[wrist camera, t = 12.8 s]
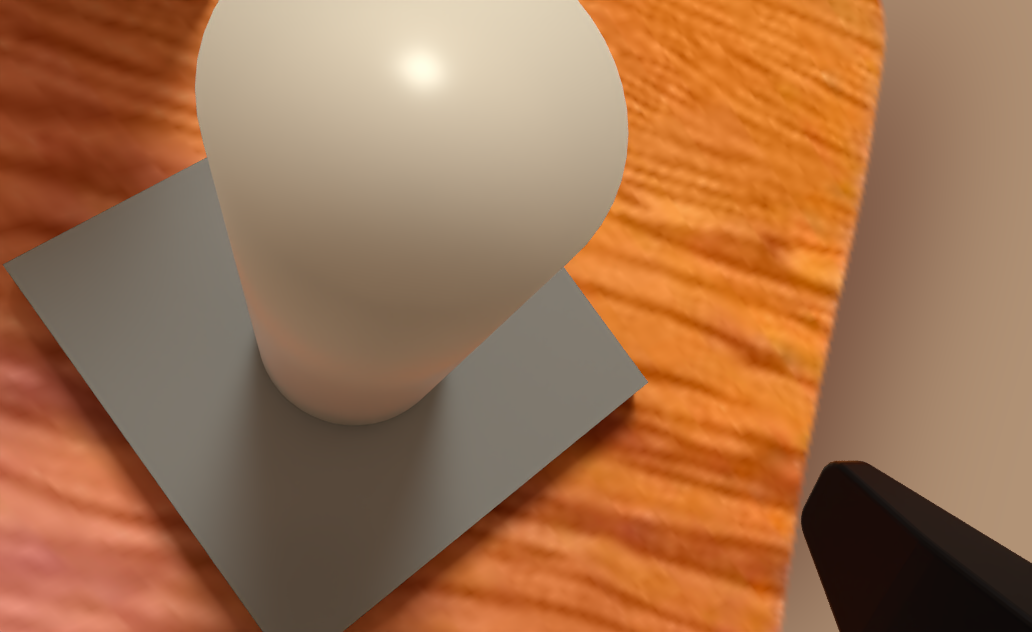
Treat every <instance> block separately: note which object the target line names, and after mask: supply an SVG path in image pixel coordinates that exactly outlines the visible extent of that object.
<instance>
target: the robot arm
mask: <svg viewBox="0 0 1032 632" xmlns="http://www.w3.org/2000/svg"><path fill="white" fill-rule="evenodd" d="M801 525H802V531H803V534H804V537H805V539H806V542H807V545H808V548H809V550H810V553H811V556H812V558H813V561H814V564H815V566H816V569H817V572H818V574H819V577H820V580H821V583H822V585H823V588H824V591H825V594H826V596H827V599H828V602H829V604H830V607H831V610H832V612H833V615H834V618H835V621H836V623H837V626H838V629H839V631H840V632H1032V563H1030V562H1029V561H1027V560H1025V559H1024V558H1022V557H1021V556H1019V555H1017V554H1016V553H1014V552H1012V551H1011V550H1009V549H1007V548H1006V547H1004V546H1003V545H1001V544H999V543H998V542H996V541H994V540H993V539H991V538H989V537H988V536H986V535H984V534H983V533H981V532H979V531H978V530H976V529H975V528H973V527H971V526H970V525H968V524H966V523H965V522H963V521H962V520H960V519H958V518H957V517H955V516H953V515H952V514H950V513H948V512H947V511H945V510H943V509H942V508H940V507H939V506H937V505H935V504H934V503H932V502H930V501H929V500H927V499H925V498H924V497H922V496H921V495H919V494H917V493H916V492H914V491H912V490H911V489H909V488H908V487H906V486H904V485H903V484H901V483H899V482H898V481H896V480H894V479H893V478H891V477H890V476H888V475H886V474H885V473H883V472H881V471H880V470H878V469H876V468H875V467H873V466H871V465H870V464H868V463H865V462H863V461H834V462H830V463H829V464H828V465H826V466H825V467H824V469H823V470H822V472H821V474H820V476H819V478H818V480H817V482H816V484H815V486H814V488H813V490H812V492H811V494H810V496H809V498H808V500H807V502H806V504H805V506H804V508H803V511H802V515H801Z"/></svg>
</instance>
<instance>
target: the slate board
mask: <svg viewBox="0 0 1032 632" xmlns="http://www.w3.org/2000/svg"><path fill="white" fill-rule="evenodd" d="M3 266H4V267H5V269H6V270H7V272H8V273H9V274H10V276H11V277H12V279H13V280H14V281H15V283H16V284H17V286H18V287H19V289H20V290H21V291H22V293H23V294H24V296H25V297H26V298H27V300H28V301H29V303H30V304H31V305H32V307H33V308H34V310H35V311H36V312H37V314H38V315H39V317H40V318H41V320H42V321H43V322H44V324H45V325H46V327H47V328H48V329H49V331H50V332H51V334H52V335H53V336H54V338H55V339H56V341H57V342H58V344H59V345H60V346H61V348H62V349H63V351H64V352H65V353H66V355H67V356H68V358H69V359H70V360H71V362H72V363H73V365H74V366H75V368H76V369H77V370H78V372H79V373H80V375H81V376H82V377H83V379H84V380H85V382H86V383H87V384H88V386H89V387H90V389H91V390H92V392H93V393H94V394H95V396H96V397H97V399H98V400H99V401H100V403H101V404H102V406H103V407H104V408H105V410H106V411H107V413H108V414H109V415H110V417H111V418H112V420H113V421H114V423H115V424H116V425H117V427H118V428H119V430H120V431H121V432H122V434H123V435H124V437H125V438H126V439H127V441H128V442H129V444H130V445H131V447H132V448H133V449H134V451H135V452H136V454H137V455H138V456H139V458H140V459H141V461H142V462H143V463H144V465H145V466H146V468H147V469H148V471H149V472H150V473H151V475H152V476H153V478H154V479H155V480H156V482H157V483H158V485H159V486H160V487H161V489H162V490H163V492H164V493H165V494H166V496H167V497H168V499H169V500H170V502H171V503H172V504H173V506H174V507H175V509H176V510H177V511H178V513H179V514H180V516H181V517H182V518H183V520H184V521H185V523H186V524H187V526H188V527H189V528H190V530H191V531H192V533H193V534H194V535H195V537H196V538H197V540H198V541H199V542H200V544H201V545H202V547H203V548H204V550H205V551H206V552H207V554H208V555H209V557H210V558H211V559H212V561H213V562H214V564H215V565H216V566H217V568H218V569H219V571H220V572H221V574H222V575H223V576H224V578H225V579H226V581H227V582H228V583H229V585H230V586H231V588H232V589H233V590H234V592H235V593H236V595H237V596H238V597H239V599H240V600H241V602H242V603H243V605H244V606H245V607H246V609H247V610H248V612H249V613H250V614H251V616H252V617H253V619H254V620H255V621H256V623H257V624H258V626H259V627H260V629H261V630H262V631H263V632H343V631H344V630H345V629H347V628H348V627H349V626H350V625H352V624H353V623H354V622H355V621H356V620H358V619H359V618H360V617H361V616H363V615H364V614H365V613H366V612H367V611H369V610H370V609H371V608H372V607H374V606H375V605H376V604H377V603H379V602H380V601H381V600H382V599H383V598H385V597H386V596H387V595H388V594H390V593H391V592H392V591H393V590H394V589H396V588H397V587H398V586H399V585H401V584H402V583H403V582H404V581H405V580H407V579H408V578H409V577H410V576H412V575H413V574H414V573H415V572H416V571H418V570H419V569H420V568H421V567H423V566H424V565H425V564H426V563H428V562H429V561H430V560H431V559H432V558H434V557H435V556H436V555H437V554H439V553H440V552H441V551H442V550H443V549H445V548H446V547H447V546H448V545H450V544H451V543H452V542H453V541H454V540H456V539H457V538H458V537H459V536H461V535H462V534H463V533H464V532H465V531H467V530H468V529H469V528H470V527H472V526H473V525H474V524H475V523H476V522H478V521H479V520H480V519H481V518H483V517H484V516H485V515H486V514H488V513H489V512H490V511H491V510H492V509H494V508H495V507H496V506H497V505H499V504H500V503H501V502H502V501H503V500H505V499H506V498H507V497H508V496H510V495H511V494H512V493H513V492H514V491H516V490H517V489H518V488H519V487H521V486H522V485H523V484H524V483H525V482H527V481H528V480H529V479H530V478H532V477H533V476H534V475H535V474H536V473H538V472H539V471H540V470H541V469H543V468H544V467H545V466H546V465H548V464H549V463H550V462H551V461H552V460H554V459H555V458H556V457H557V456H559V455H560V454H561V453H562V452H563V451H565V450H566V449H567V448H568V447H570V446H571V445H572V444H573V443H574V442H576V441H577V440H578V439H579V438H581V437H582V436H583V435H584V434H585V433H587V432H588V431H589V430H590V429H592V428H593V427H594V426H595V425H596V424H598V423H599V422H600V421H601V420H603V419H604V418H605V417H606V416H608V415H609V414H610V413H611V412H612V411H614V410H615V409H616V408H617V407H619V406H620V405H621V404H622V403H623V402H625V401H626V400H627V399H628V398H630V397H631V396H632V395H633V394H634V393H636V392H637V391H638V390H639V389H641V388H642V387H643V386H644V385H645V384H647V383H648V381H647V380H646V379H645V377H644V376H643V375H642V373H641V372H640V371H639V369H638V368H637V366H636V365H635V364H634V362H633V361H632V360H631V358H630V357H629V356H628V354H627V353H626V351H625V350H624V349H623V347H622V346H621V345H620V343H619V342H618V341H617V339H616V338H615V336H614V335H613V334H612V332H611V331H610V330H609V328H608V327H607V326H606V324H605V323H604V321H603V320H602V319H601V317H600V316H599V315H598V313H597V312H596V311H595V309H594V308H593V306H592V305H591V304H590V302H589V301H588V300H587V298H586V297H585V296H584V294H583V293H582V291H581V290H580V289H579V287H578V286H577V285H576V283H575V282H574V281H573V279H572V278H571V276H570V275H569V274H568V272H567V271H566V270H565V268H564V267H563V268H562V269H561V270H559V271H558V272H557V273H556V274H555V275H554V276H553V277H552V278H551V279H550V280H549V281H548V282H547V283H546V284H544V285H543V286H542V287H541V288H540V289H539V290H538V291H537V292H536V293H535V294H534V295H533V296H532V297H531V298H529V299H528V300H527V301H526V302H525V303H524V304H523V305H522V306H521V307H520V308H519V309H518V310H517V311H515V312H514V313H513V314H512V315H511V316H510V317H509V318H508V319H507V320H506V321H505V322H504V323H503V324H502V325H500V326H499V327H498V328H497V329H496V330H495V331H494V332H493V333H492V334H491V335H490V336H489V337H488V338H486V339H485V340H484V341H483V342H482V343H481V344H480V345H479V346H478V347H477V348H476V349H475V350H474V351H473V352H471V353H470V354H469V355H468V356H467V357H466V358H465V359H464V360H463V361H462V362H461V363H460V364H459V365H457V366H456V367H455V368H454V369H453V370H452V371H451V372H450V373H449V374H448V375H447V376H446V377H445V378H444V379H442V380H441V381H440V382H439V383H438V384H437V385H436V386H435V387H434V388H433V389H432V390H431V391H430V392H429V393H427V394H426V395H425V396H424V397H423V398H422V399H421V400H420V401H419V402H418V403H416V404H415V405H414V406H412V407H411V408H410V409H408V410H407V411H405V412H403V413H401V414H400V415H398V416H396V417H393V418H391V419H388V420H386V421H382V422H378V423H374V424H367V425H341V424H334V423H331V422H327V421H323V420H320V419H318V418H316V417H313V416H311V415H309V414H307V413H305V412H304V411H302V410H300V409H299V408H297V407H296V406H295V405H293V404H292V403H291V402H290V401H288V400H287V399H286V398H285V397H284V396H283V395H282V394H281V393H280V392H279V390H278V389H277V388H276V386H275V385H274V383H273V382H272V381H271V379H270V377H269V375H268V373H267V372H266V370H265V367H264V364H263V362H262V359H261V356H260V352H259V348H258V344H257V341H256V337H255V333H254V330H253V326H252V322H251V318H250V315H249V311H248V307H247V304H246V300H245V296H244V292H243V289H242V285H241V281H240V277H239V274H238V270H237V266H236V263H235V259H234V255H233V251H232V248H231V244H230V240H229V237H228V233H227V229H226V225H225V222H224V218H223V214H222V210H221V207H220V203H219V199H218V196H217V192H216V188H215V184H214V181H213V177H212V173H211V170H210V166H209V162H208V158H205V159H203V160H201V161H199V162H197V163H195V164H194V165H192V166H190V167H188V168H186V169H184V170H182V171H180V172H178V173H176V174H174V175H173V176H171V177H169V178H167V179H165V180H163V181H161V182H159V183H157V184H155V185H153V186H152V187H150V188H148V189H146V190H144V191H142V192H140V193H138V194H136V195H134V196H133V197H131V198H129V199H127V200H125V201H123V202H121V203H119V204H117V205H115V206H113V207H112V208H110V209H108V210H106V211H104V212H102V213H100V214H98V215H96V216H94V217H92V218H91V219H89V220H87V221H85V222H83V223H81V224H79V225H77V226H75V227H73V228H72V229H70V230H68V231H66V232H64V233H62V234H60V235H58V236H56V237H54V238H52V239H51V240H49V241H47V242H45V243H43V244H41V245H39V246H37V247H35V248H33V249H31V250H30V251H28V252H26V253H24V254H22V255H20V256H18V257H16V258H14V259H12V260H11V261H9V262H7V263H5V264H3Z"/></svg>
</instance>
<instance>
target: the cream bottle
mask: <svg viewBox="0 0 1032 632" xmlns="http://www.w3.org/2000/svg"><path fill="white" fill-rule="evenodd" d="M195 93H196V107H197V117H198V121H199V126H200V130H201V135H202V139H203V143H204V147H205V151H206V155H207V158H208V162H209V166H210V170H211V173H212V177H213V181H214V184H215V188H216V192H217V196H218V199H219V203H220V207H221V210H222V214H223V218H224V222H225V225H226V229H227V233H228V237H229V240H230V244H231V248H232V251H233V255H234V259H235V263H236V266H237V270H238V274H239V277H240V281H241V285H242V289H243V292H244V296H245V300H246V304H247V307H248V311H249V315H250V318H251V322H252V326H253V330H254V333H255V337H256V341H257V344H258V348H259V352H260V356H261V359H262V362H263V364H264V367H265V370H266V372H267V373H268V375H269V377H270V379H271V381H272V382H273V383H274V385H275V386H276V388H277V389H278V390H279V392H280V393H281V394H282V395H283V396H284V397H285V398H286V399H287V400H288V401H290V402H291V403H292V404H293V405H295V406H296V407H297V408H299V409H300V410H302V411H304V412H305V413H307V414H309V415H311V416H313V417H316V418H318V419H320V420H323V421H327V422H331V423H334V424H341V425H367V424H374V423H378V422H382V421H386V420H388V419H391V418H393V417H396V416H398V415H400V414H401V413H403V412H405V411H407V410H408V409H410V408H411V407H412V406H414V405H415V404H416V403H418V402H419V401H420V400H421V399H422V398H423V397H424V396H425V395H426V394H427V393H429V392H430V391H431V390H432V389H433V388H434V387H435V386H436V385H437V384H438V383H439V382H440V381H441V380H442V379H444V378H445V377H446V376H447V375H448V374H449V373H450V372H451V371H452V370H453V369H454V368H455V367H456V366H457V365H459V364H460V363H461V362H462V361H463V360H464V359H465V358H466V357H467V356H468V355H469V354H470V353H471V352H473V351H474V350H475V349H476V348H477V347H478V346H479V345H480V344H481V343H482V342H483V341H484V340H485V339H486V338H488V337H489V336H490V335H491V334H492V333H493V332H494V331H495V330H496V329H497V328H498V327H499V326H500V325H502V324H503V323H504V322H505V321H506V320H507V319H508V318H509V317H510V316H511V315H512V314H513V313H514V312H515V311H517V310H518V309H519V308H520V307H521V306H522V305H523V304H524V303H525V302H526V301H527V300H528V299H529V298H531V297H532V296H533V295H534V294H535V293H536V292H537V291H538V290H539V289H540V288H541V287H542V286H543V285H544V284H546V283H547V282H548V281H549V280H550V279H551V278H552V277H553V276H554V275H555V274H556V273H557V272H558V271H559V270H561V269H562V268H563V267H564V266H565V265H566V264H567V263H568V262H569V261H570V260H571V259H572V258H573V257H574V256H575V255H576V254H577V253H578V252H579V251H580V250H581V249H582V248H583V247H584V246H585V245H586V244H587V243H588V242H589V240H590V239H591V238H592V236H593V235H594V234H595V232H596V231H597V230H598V228H599V227H600V226H601V224H602V223H603V221H604V219H605V217H606V215H607V213H608V212H609V210H610V208H611V206H612V204H613V202H614V199H615V197H616V194H617V191H618V189H619V186H620V183H621V180H622V176H623V171H624V166H625V162H626V157H627V144H628V120H627V107H626V102H625V97H624V92H623V87H622V83H621V80H620V77H619V74H618V71H617V68H616V64H615V61H614V59H613V57H612V55H611V53H610V51H609V48H608V46H607V44H606V42H605V40H604V38H603V36H602V35H601V33H600V31H599V30H598V28H597V27H596V25H595V23H594V22H593V20H592V18H591V17H590V16H589V14H588V13H587V12H586V10H585V9H584V8H583V7H582V5H581V4H580V3H579V1H578V0H219V2H218V3H217V5H216V7H215V8H214V10H213V13H212V15H211V17H210V20H209V22H208V25H207V27H206V29H205V32H204V34H203V38H202V42H201V47H200V51H199V55H198V59H197V69H196V81H195Z"/></svg>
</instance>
